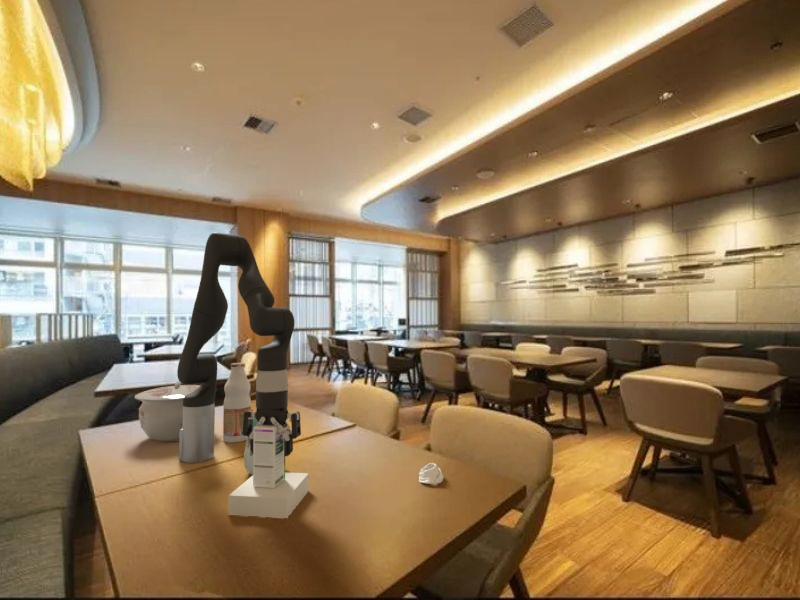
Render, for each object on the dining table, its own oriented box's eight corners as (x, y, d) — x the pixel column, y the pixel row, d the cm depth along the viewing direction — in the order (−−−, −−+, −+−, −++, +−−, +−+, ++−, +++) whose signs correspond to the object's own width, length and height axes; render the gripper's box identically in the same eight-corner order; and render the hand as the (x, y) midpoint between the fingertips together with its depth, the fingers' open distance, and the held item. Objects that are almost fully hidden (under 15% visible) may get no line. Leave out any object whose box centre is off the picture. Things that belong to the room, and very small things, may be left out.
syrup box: (274, 489, 93) (276, 427, 94) (251, 487, 94) (253, 425, 95) (285, 479, 99) (286, 421, 99) (263, 477, 100) (265, 419, 100)
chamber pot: (157, 453, 131) (158, 390, 132) (118, 440, 145) (120, 383, 146) (232, 432, 155) (232, 379, 155) (192, 422, 169) (193, 374, 170)
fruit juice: (220, 444, 140) (221, 365, 141) (226, 436, 149) (227, 362, 150) (248, 442, 142) (249, 364, 143) (252, 434, 151) (253, 361, 152)
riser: (228, 517, 90) (228, 495, 90) (257, 490, 104) (257, 471, 104) (287, 520, 88) (287, 498, 89) (308, 492, 102) (308, 473, 102)
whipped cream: (438, 492, 104) (440, 474, 103) (414, 486, 106) (415, 468, 106) (444, 477, 111) (446, 461, 111) (422, 472, 113) (423, 456, 113)
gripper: (237, 389, 95) (236, 458, 94) (292, 391, 92) (291, 461, 92) (253, 384, 102) (253, 447, 102) (305, 386, 100) (305, 450, 99)
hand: (271, 454), depth 97 cm, fingers open, 8 cm apart
